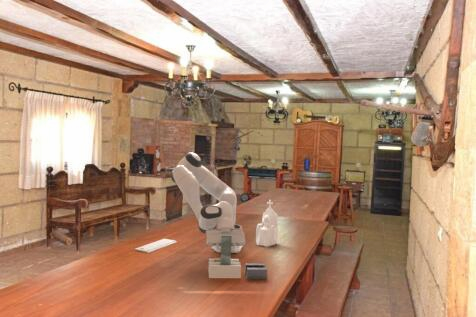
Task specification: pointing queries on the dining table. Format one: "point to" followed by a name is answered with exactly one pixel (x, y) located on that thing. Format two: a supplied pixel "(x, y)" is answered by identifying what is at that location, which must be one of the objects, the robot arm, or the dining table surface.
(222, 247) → the teal board
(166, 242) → the white keyboard
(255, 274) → the charcoal holder
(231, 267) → the white rack
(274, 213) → the religious statue
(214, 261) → the pine offcut
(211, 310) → the dining table surface
